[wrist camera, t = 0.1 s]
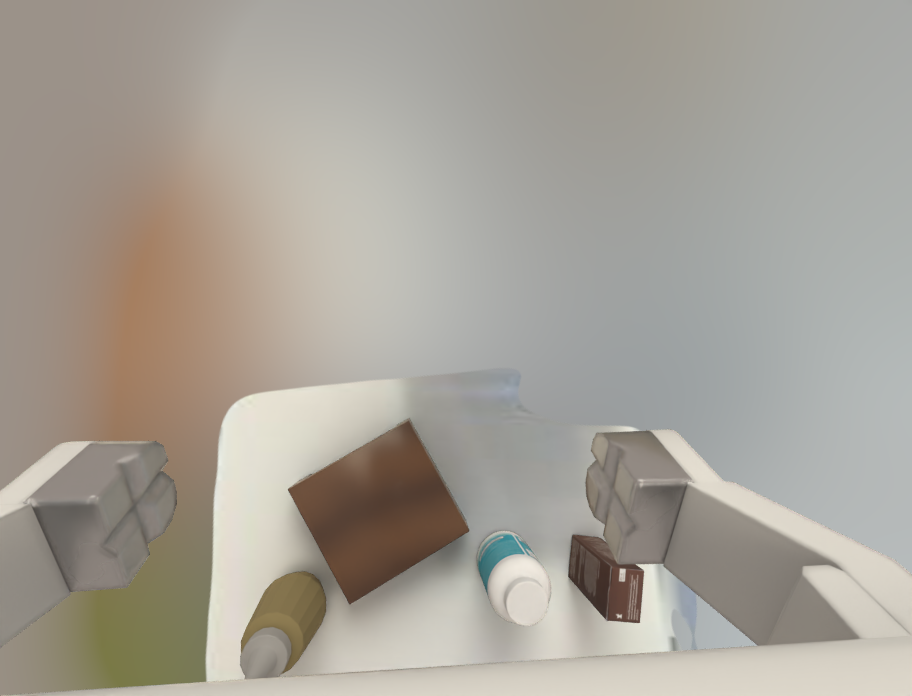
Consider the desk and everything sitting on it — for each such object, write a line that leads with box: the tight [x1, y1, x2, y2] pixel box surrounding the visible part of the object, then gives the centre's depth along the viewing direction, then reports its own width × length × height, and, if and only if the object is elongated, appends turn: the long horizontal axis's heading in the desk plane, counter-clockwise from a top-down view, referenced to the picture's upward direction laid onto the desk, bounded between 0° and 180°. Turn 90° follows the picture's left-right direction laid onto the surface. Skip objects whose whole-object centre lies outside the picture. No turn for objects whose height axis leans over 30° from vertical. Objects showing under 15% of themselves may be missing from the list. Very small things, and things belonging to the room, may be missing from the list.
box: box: [568, 535, 644, 623], centre depth 57 cm, size 6×4×12 cm
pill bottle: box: [477, 531, 551, 626], centre depth 55 cm, size 8×7×14 cm
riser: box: [288, 418, 469, 604], centre depth 58 cm, size 16×17×5 cm
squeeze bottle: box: [240, 571, 326, 679], centre depth 50 cm, size 8×8×18 cm
